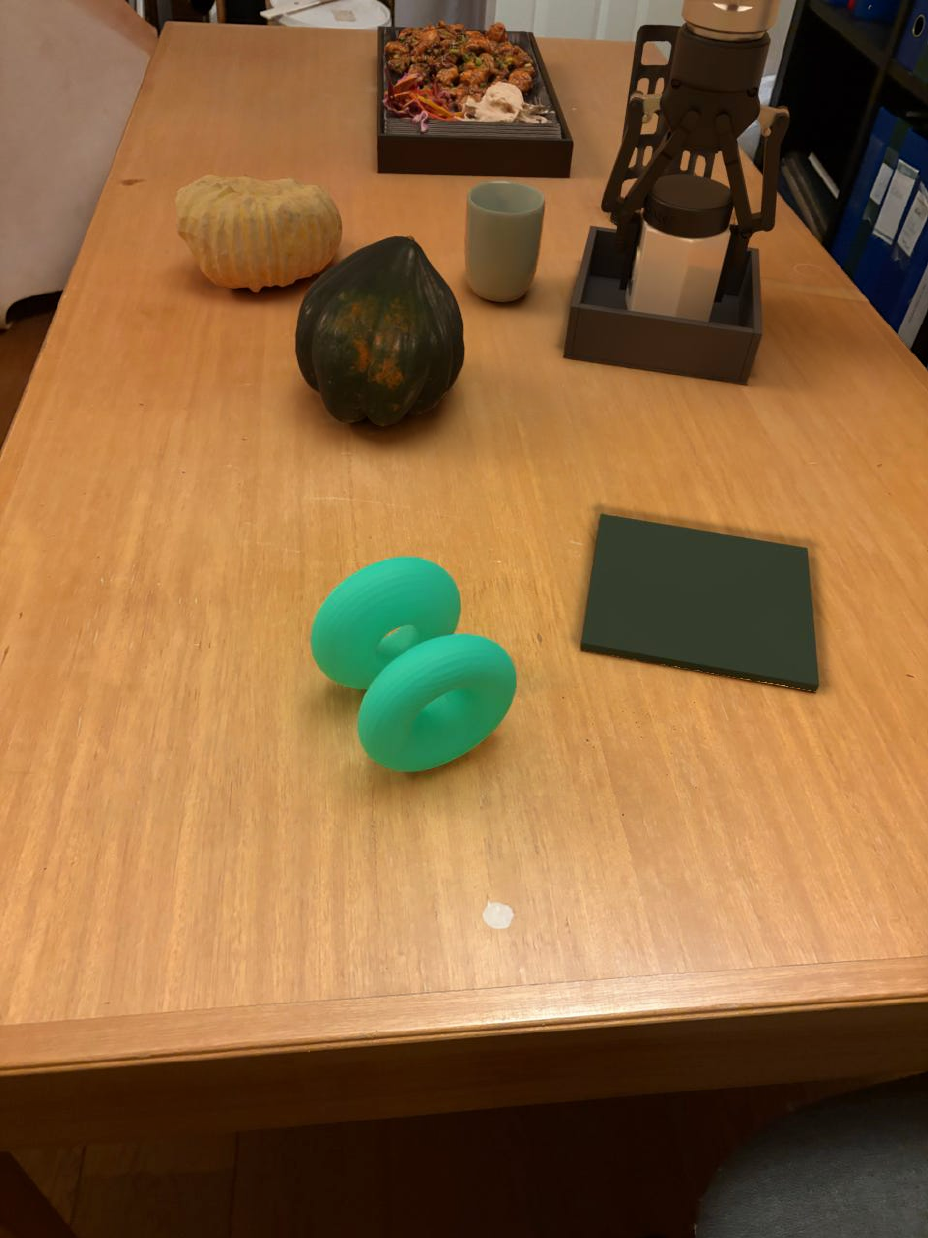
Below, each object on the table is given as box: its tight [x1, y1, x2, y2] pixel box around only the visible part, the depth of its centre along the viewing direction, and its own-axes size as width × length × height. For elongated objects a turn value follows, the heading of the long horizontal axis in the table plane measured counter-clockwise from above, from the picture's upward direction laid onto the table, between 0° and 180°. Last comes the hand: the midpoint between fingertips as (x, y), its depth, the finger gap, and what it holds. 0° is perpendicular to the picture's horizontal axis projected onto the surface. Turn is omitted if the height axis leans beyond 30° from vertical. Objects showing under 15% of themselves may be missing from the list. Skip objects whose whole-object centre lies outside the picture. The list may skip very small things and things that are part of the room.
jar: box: [625, 174, 734, 322], centre depth 89 cm, size 9×8×12 cm
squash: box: [294, 235, 466, 427], centre depth 79 cm, size 14×15×15 cm
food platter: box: [376, 19, 575, 179], centre depth 130 cm, size 45×25×10 cm, turn 4°
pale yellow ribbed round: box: [174, 173, 343, 293], centre depth 96 cm, size 17×11×15 cm
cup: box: [463, 180, 546, 303], centre depth 94 cm, size 8×8×10 cm
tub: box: [562, 225, 764, 386], centre depth 93 cm, size 18×18×5 cm
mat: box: [579, 513, 820, 692], centre depth 68 cm, size 16×14×1 cm
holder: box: [609, 24, 717, 225], centre depth 105 cm, size 11×8×20 cm
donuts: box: [309, 556, 518, 773], centre depth 56 cm, size 10×10×10 cm
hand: (670, 289), depth 92 cm, fingers closed on jar, 8 cm apart
